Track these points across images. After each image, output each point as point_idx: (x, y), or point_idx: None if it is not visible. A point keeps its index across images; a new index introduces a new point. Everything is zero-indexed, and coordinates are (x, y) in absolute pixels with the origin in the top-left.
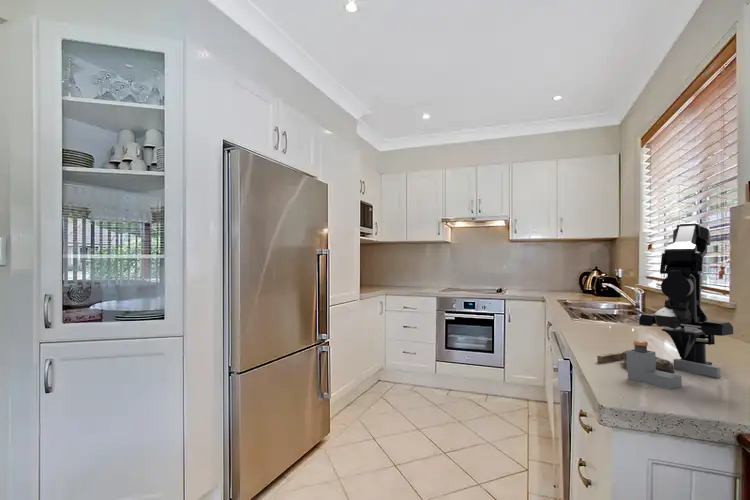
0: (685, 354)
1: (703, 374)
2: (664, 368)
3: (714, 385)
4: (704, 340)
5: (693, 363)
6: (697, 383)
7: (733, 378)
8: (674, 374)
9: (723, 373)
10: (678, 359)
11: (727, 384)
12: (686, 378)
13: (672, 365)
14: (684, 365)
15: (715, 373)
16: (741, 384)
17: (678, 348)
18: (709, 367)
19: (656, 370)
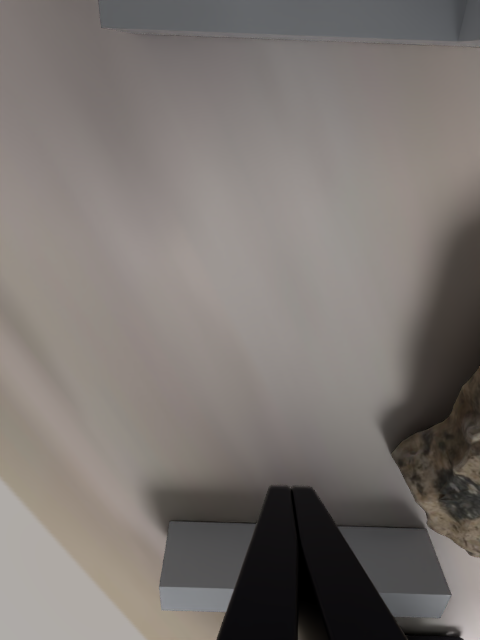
0: (256, 534)
1: (246, 524)
2: (450, 415)
3: (60, 347)
4: None
5: None
6: (144, 295)
7: (125, 565)
8: (188, 13)
9: None
10: (422, 608)
11: (50, 437)
12: (263, 365)
13: (416, 490)
14: (366, 561)
15: (175, 545)
16: (25, 495)
17: (348, 596)
18: (207, 580)
19: (440, 10)
